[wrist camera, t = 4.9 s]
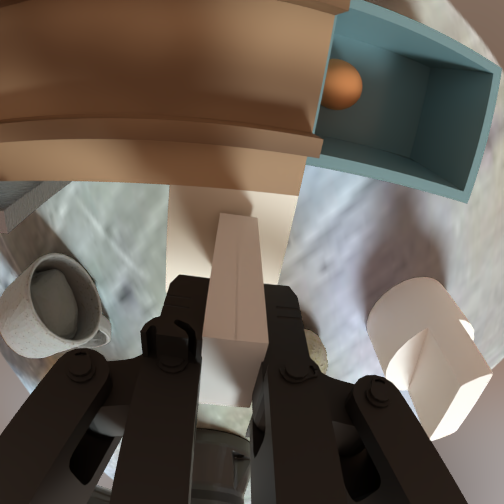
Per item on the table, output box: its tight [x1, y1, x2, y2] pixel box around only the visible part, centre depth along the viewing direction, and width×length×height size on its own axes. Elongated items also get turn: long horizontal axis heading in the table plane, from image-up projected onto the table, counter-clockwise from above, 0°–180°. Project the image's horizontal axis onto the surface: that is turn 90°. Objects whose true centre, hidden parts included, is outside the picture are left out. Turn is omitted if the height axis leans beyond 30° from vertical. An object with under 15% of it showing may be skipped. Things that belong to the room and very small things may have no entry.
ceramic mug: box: [0, 253, 111, 358], centre depth 24 cm, size 11×8×8 cm
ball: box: [320, 59, 363, 110], centre depth 17 cm, size 3×3×3 cm
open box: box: [305, 0, 502, 203], centre depth 16 cm, size 8×10×8 cm
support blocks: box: [0, 181, 71, 234], centre depth 12 cm, size 14×24×12 cm, turn 81°
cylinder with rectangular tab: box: [367, 277, 493, 441], centre depth 24 cm, size 9×9×12 cm
